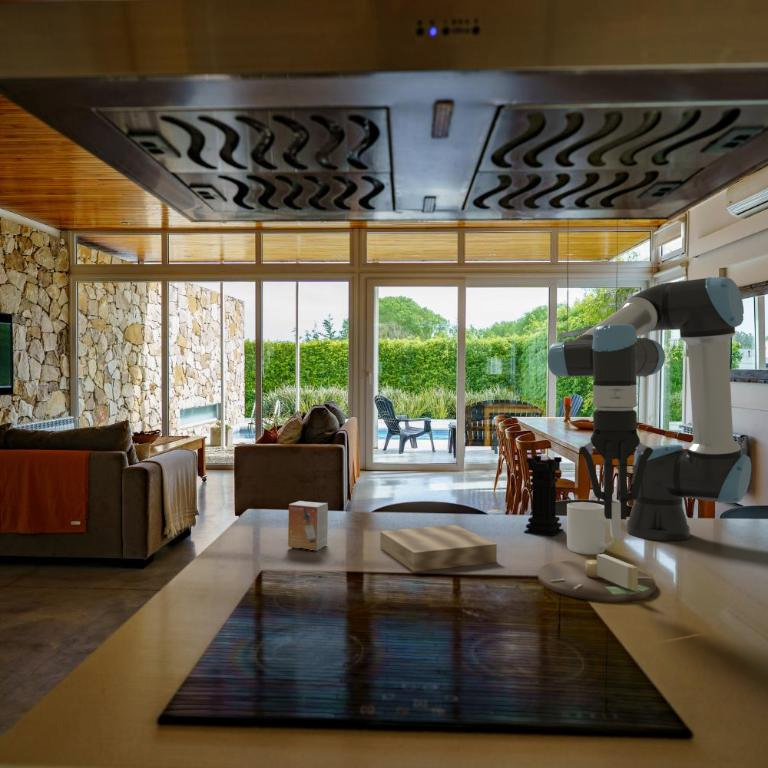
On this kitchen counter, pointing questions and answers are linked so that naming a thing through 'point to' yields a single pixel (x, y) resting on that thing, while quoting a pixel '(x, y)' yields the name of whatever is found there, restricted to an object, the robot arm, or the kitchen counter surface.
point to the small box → (308, 525)
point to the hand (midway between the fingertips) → (615, 536)
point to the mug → (586, 528)
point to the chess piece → (543, 497)
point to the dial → (591, 583)
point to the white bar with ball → (613, 571)
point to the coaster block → (437, 547)
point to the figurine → (494, 509)
